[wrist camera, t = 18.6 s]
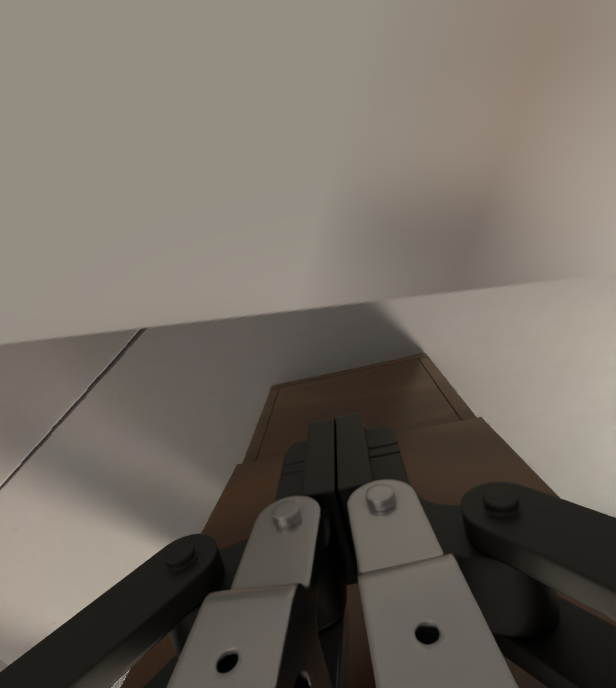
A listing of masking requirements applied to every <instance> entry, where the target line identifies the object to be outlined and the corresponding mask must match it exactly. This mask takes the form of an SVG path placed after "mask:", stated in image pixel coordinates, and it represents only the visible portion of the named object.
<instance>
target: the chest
mask: <svg viewBox="0 0 616 688" xmlns="http://www.w3.org/2000/svg"><path fill="white" fill-rule="evenodd" d="M358 412H361V413H362V417H363V421H364V425H365V429H367V428H372V427H377V426H382V425H384V426H386V427H387V428H388V429H390V430H391V431H393V432H394V434H396V433H401V432H406V431H411V430H417V429H422V428H427V427H432V426H437V425H442V424H448V423H453V422H458V421H463V420H468V419H473V418H477V417H476V416H475V415H474V413H473V412H472V411H471V410H470V408H469V407H468V406H467V405H466V403H465V402H464V401H463V400H462V398H461V397H460V396H459V395H458V393H457V392H456V391H455V390H454V388H453V387H452V386H451V385H450V383H449V382H448V381H447V379H446V378H445V377H444V376H443V374H442V373H441V372H440V371H439V369H438V368H437V367H436V366H435V364H434V363H433V362H432V361H431V359H430V358H429V357H428V356H427V354H426V353H425V354H420V355H416V356H411V357H406V358H401V359H397V360H392V361H387V362H383V363H378V364H373V365H369V366H364V367H359V368H355V369H350V370H345V371H340V372H336V373H331V374H326V375H322V376H317V377H312V378H308V379H303V380H298V381H294V382H289V383H284V384H279V385H275V386H271V389H270V392H269V395H268V397H267V400H266V403H265V405H264V408H263V410H262V413H261V416H260V418H259V421H258V424H257V426H256V429H255V431H254V434H253V437H252V439H251V442H250V445H249V447H248V450H247V453H246V455H245V458H244V460H243V463H247V462H252V461H257V460H262V459H267V458H273V457H278V456H283V455H285V453H286V452H287V451H288V450H289V448H290V447H291V446H292V445H293V444H294V443H297V442H302V441H307V435H308V427H309V423H310V422H315V421H319V420H324V419H329V418H335V420H336V417H339V416H344V415H349V414H353V413H358Z"/></svg>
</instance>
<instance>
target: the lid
mask: <svg viewBox="0 0 616 688" xmlns="http://www.w3.org/2000/svg"><path fill="white" fill-rule="evenodd" d="M395 437H396V440H397V444H398V447H399V450H400V453H401V456H402V459H403V463H404V466H405V469H406V472H407V475H408V479H409V482H410V485H411V487H412V488H413V489H414V491H415V493H416V494H417V495H418V496H420V497H421V498H423V499H425V500H427V501H430V502H433V503H437V504H444V505H461V499H462V497H463V496H464V494H465V493H466V492H467V491H468V490H470V489H471V488H473V487H475V486H477V485H480V484H484V483H489V482H510V483H516V484H519V485H523V486H526V487H529V488H531V489H534V490H537V491H540V492H543V493H546V494H549V495H551V496H554V497H557V498H560V497H559V496H558V495H557V494H556V493H555V492H554V491H553V490H552V489H551V488H550V487H549V486H548V485H547V484H546V483H545V482H544V481H543V480H542V479H541V478H540V477H539V476H538V475H537V474H536V473H535V472H534V471H533V470H532V469H531V468H530V467H529V466H528V465H527V464H526V463H525V462H524V461H523V459H522V458H521V457H520V456H519V455H518V454H517V453H516V452H515V451H514V450H513V449H512V448H511V447H510V446H509V445H508V444H507V443H506V442H505V441H504V440H503V439H502V438H501V437H500V436H499V435H498V434H497V433H496V432H495V431H494V430H493V429H492V428H491V427H490V426H489V425H488V424H487V423H486V422H485V420H484V419H483V418H482V417H478V418H473V419H468V420H463V421H458V422H453V423H448V424H442V425H437V426H432V427H427V428H422V429H417V430H411V431H406V432H401V433H396V434H395ZM283 460H284V455H283V456H278V457H273V458H267V459H262V460H257V461H252V462H247V463H242V464H237V466H236V467H235V469H234V471H233V473H232V475H231V477H230V479H229V481H228V483H227V485H226V487H225V489H224V490H223V492H222V494H221V496H220V498H219V500H218V502H217V504H216V506H215V508H214V510H213V511H212V513H211V515H210V517H209V519H208V521H207V523H206V525H205V527H204V529H203V531H202V533H201V534H207V535H209V536H211V537H213V538H214V539H215V541H216V544H217V547H218V549H219V550H220V549H223V548H225V547H228V546H230V545H233V544H235V543H238V542H240V541H242V540H244V539H247V538H248V537H250V534H251V532H252V529H253V526H254V523H255V521H256V519H257V517H258V515H259V514H260V513H261V512H262V511H263V509H265V508H266V507H267V506H269V505H270V504H272V503H273V502H275V498H276V493H277V488H278V484H279V479H280V476H281V469H282V467H283ZM560 499H561V498H560ZM357 567H358V566H357ZM358 573H359V570H358ZM557 595H558V596H560V597H562V598H564V599H565V600H567V601H569V602H571V603H573V604H575V605H577V606H579V607H580V608H582V609H584V610H586V611H588V612H590V613H592V614H594V615H595V616H597V617H599V618H601V619H603V620H605V621H607V622H609V623H610V624H612V625H614V626H616V623H615V622H614V621H612V620H611V619H609V618H608V617H606V616H604V615H602V614H600V613H598V612H597V611H595V610H593V609H591V608H589V607H587V606H585V605H583V604H581V603H579V602H578V601H576V600H574V599H572V598H570V597H568V596H566V595H564V594H562V593H560V592H558V591H557ZM346 605H347V609H348V613H349V618H350V627H349V654H348V682H347V688H376V683H375V677H374V671H373V665H372V660H371V654H370V648H369V642H368V636H367V630H366V625H365V619H364V613H363V607H362V601H361V596H360V590H359V584H351V585H347V603H346ZM175 655H176V651H175V649H174V646H173V644H172V641H171V639H170V636H169V634H167V635H166V636H165V637H164V638H163V639H162V640H160V641H159V642H158V643H157V644H156V645H155V646H154V647H153V648H152V649H151V650H150V651H149V652H148V653H146V654H145V655H144V656H143V657H142V658H141V659H140V660H139V661H138V662H137V663H136V664H135V665H134V666H132V667H131V668H130V670H129V672H128V674H127V676H126V678H125V680H124V682H123V684H122V686H121V688H142V687H143V686H144V685H145V684H146V683H147V682H148V681H150V680H151V679H152V678H153V677H154V676H155V675H156V674H157V673H158V672H159V671H160V670H161V669H162V668H163V667H164V666H165V665H166V664H167V663H168V662H169V661H170V660H171V659H172V658H173V657H174V656H175ZM503 657H504V659H505V661H506V663H507V665H508V667H509V669H510V671H511V673H512V675H513V678H514V680H515V682H516V684H517V686H518V688H548V687H546V686H545V685H544V684H542V683H541V682H539V681H538V680H537V679H535V678H534V677H532V676H531V675H530V674H528V673H527V672H526V671H524V670H523V669H521V668H520V667H519V666H517V665H516V664H514V663H513V662H512V661H510V660H509V659H507V658H506V657H505V656H503Z"/></svg>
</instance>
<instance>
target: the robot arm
mask: <svg viewBox="0 0 616 688" xmlns="http://www.w3.org/2000/svg"><path fill="white" fill-rule="evenodd" d="M357 566H358V567H357ZM358 570H359V573H358ZM351 584H359V590H360V596H361V601H362V607H363V613H364V619H365V625H366V630H367V636H368V642H369V648H370V654H371V660H372V665H373V671H374V677H375V683H376V688H518V686H517V684H516V682H515V680H514V678H513V675H512V673H511V671H510V669H509V667H508V665H507V663H506V661H505V659H504V657H503V656H505V657H506V658H507V659H509V660H510V661H512V662H513V663H514V664H516V665H517V666H519V667H520V668H521V669H523V670H524V671H526V672H527V673H528V674H530V675H531V676H532V677H534V678H535V679H537V680H538V681H539V682H541V683H542V684H544V685H545V686H546V687H548V688H616V626H614V625H612V624H610V623H609V622H607V621H605V620H603V619H601V618H599V617H597V616H595V615H594V614H592V613H590V612H588V611H586V610H584V609H582V608H580V607H579V606H577V605H575V604H573V603H571V602H569V601H567V600H565V599H564V598H562V597H560V596H558V595H557V591H558V592H560V593H562V594H564V595H566V596H568V597H570V598H572V599H574V600H576V601H578V602H579V603H581V604H583V605H585V606H587V607H589V608H591V609H593V610H595V611H597V612H598V613H600V614H602V615H604V616H606V617H608V618H609V619H611V620H612V621H614V622H615V623H616V518H614V517H612V516H609V515H606V514H603V513H600V512H597V511H594V510H591V509H589V508H586V507H583V506H580V505H577V504H574V503H571V502H569V501H566V500H563V499H560V498H557V497H554V496H551V495H549V494H546V493H543V492H540V491H537V490H534V489H531V488H529V487H526V486H523V485H519V484H516V483H510V482H489V483H484V484H480V485H477V486H475V487H473V488H471V489H470V490H468V491H467V492H466V493H465V494H464V496H463V497H462V499H461V505H444V504H437V503H433V502H430V501H427V500H425V499H423V498H421V497H420V496H418V495H417V494H416V493H415V491H414V489H413V488H412V487H411V485H410V482H409V479H408V475H407V472H406V469H405V466H404V463H403V459H402V456H401V453H400V450H399V447H398V444H397V440H396V437H395V434H394V432H393V431H391V430H390V429H388V428H387V427H386V426H384V425H382V426H377V427H372V428H367V429H365V425H364V421H363V417H362V413H361V412H358V413H353V414H349V415H344V416H339V417H336V420H335V418H329V419H324V420H319V421H315V422H310V423H309V427H308V435H307V441H302V442H297V443H294V444H293V445H292V446H291V447H290V448H289V450H288V451H287V452H286V453H285V455H284V460H283V467H282V469H281V476H280V479H279V484H278V488H277V493H276V498H275V502H273V503H272V504H270V505H269V506H267V507H266V508H265V509H263V511H262V512H261V513H260V514H259V515H258V517H257V519H256V521H255V523H254V526H253V529H252V532H251V534H250V537H248V538H247V539H244V540H242V541H240V542H238V543H235V544H233V545H230V546H228V547H225V548H223V549H220V550H219V549H218V547H217V544H216V541H215V539H214V538H213V537H211V536H209V535H207V534H193V535H189V536H185V537H182V538H180V539H178V540H176V541H174V542H172V543H170V544H169V545H167V546H166V547H164V548H163V549H162V550H160V551H159V552H158V553H156V554H155V555H154V556H152V557H151V558H150V559H148V560H147V561H146V562H145V563H143V564H142V565H141V566H139V567H138V568H137V569H135V570H134V571H133V572H131V573H130V574H129V575H127V576H126V577H125V578H123V579H122V580H121V581H120V582H118V583H117V584H116V585H114V586H113V587H112V588H110V589H109V590H108V591H106V592H105V593H104V594H102V595H101V596H100V597H99V598H97V599H96V600H95V601H93V602H92V603H91V604H89V605H88V606H87V607H85V608H84V609H83V610H81V611H80V612H79V613H77V614H76V615H75V616H74V617H72V618H71V619H70V620H68V621H67V622H66V623H64V624H63V625H62V626H60V627H59V628H58V629H56V630H55V631H54V632H52V633H51V634H50V635H49V636H47V637H46V638H45V639H43V640H42V641H41V642H39V643H38V644H37V645H35V646H34V647H33V648H31V649H30V650H29V651H28V652H26V653H25V654H24V655H22V656H21V657H20V658H18V659H17V660H16V661H14V662H13V663H12V664H10V665H9V666H8V667H7V668H5V669H4V670H3V671H1V672H0V688H111V687H112V685H113V684H114V683H115V682H116V681H117V680H118V679H120V678H121V677H122V676H123V675H124V674H125V673H126V672H127V671H128V670H129V669H130V668H131V667H132V666H134V665H135V664H136V663H137V662H138V661H139V660H140V659H141V658H142V657H143V656H144V655H145V654H146V653H148V652H149V651H150V650H151V649H152V648H153V647H154V646H155V645H156V644H157V643H158V642H159V641H160V640H162V639H163V638H164V637H165V636H166V635H167V634H169V636H170V639H171V641H172V644H173V646H174V649H175V651H176V655H175V656H174V657H173V658H172V659H171V660H170V661H169V662H168V663H167V664H166V665H165V666H164V667H163V668H162V669H161V670H160V671H159V672H158V673H157V674H156V675H155V676H154V677H153V678H152V679H151V680H150V681H148V682H147V683H146V684H145V685H144V686H143V687H142V688H347V682H348V654H349V627H350V618H349V613H348V609H347V605H346V603H347V585H351Z"/></svg>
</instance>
